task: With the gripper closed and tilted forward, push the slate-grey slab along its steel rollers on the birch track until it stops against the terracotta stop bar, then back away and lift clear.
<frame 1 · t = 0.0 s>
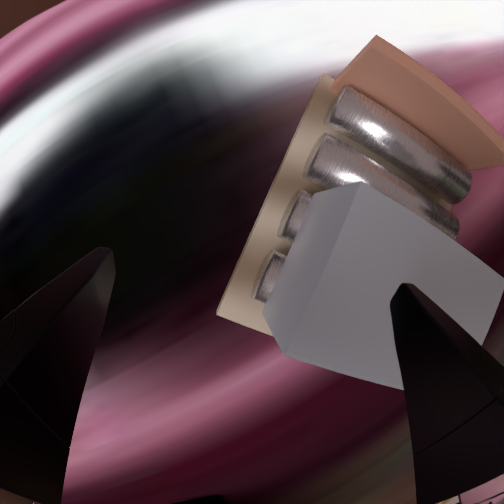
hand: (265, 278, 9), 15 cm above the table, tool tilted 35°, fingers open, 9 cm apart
rollers: (378, 223, 22), on the track board, point 3 cm above the table
track board: (358, 228, 25), on the table
stop bar: (426, 115, 19), on the track board, point 5 cm above the table
slab: (391, 299, 17), point 8 cm above the table, slide at 0.0 cm
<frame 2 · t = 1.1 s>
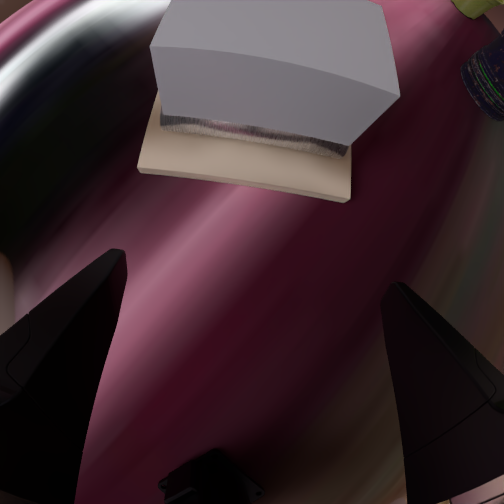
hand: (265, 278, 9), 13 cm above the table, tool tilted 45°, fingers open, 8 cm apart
rollers: (265, 52, 22), on the track board, point 3 cm above the table
track board: (259, 77, 24), on the table
slab: (274, 48, 16), point 8 cm above the table, slide at 0.0 cm
storage jar: (483, 91, 30), on the table
plant pot: (461, 8, 33), on the table
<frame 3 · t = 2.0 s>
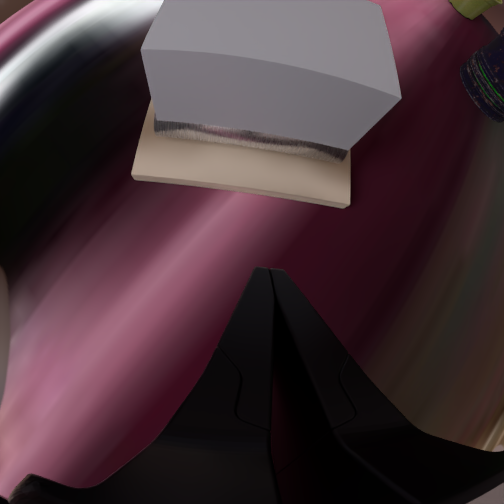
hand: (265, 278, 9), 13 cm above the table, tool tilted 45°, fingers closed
rollers: (262, 54, 21), on the track board, point 3 cm above the table
track board: (255, 80, 24), on the table
slab: (271, 50, 15), point 8 cm above the table, slide at 0.0 cm
storage jar: (483, 92, 30), on the table
plant pot: (459, 9, 34), on the table
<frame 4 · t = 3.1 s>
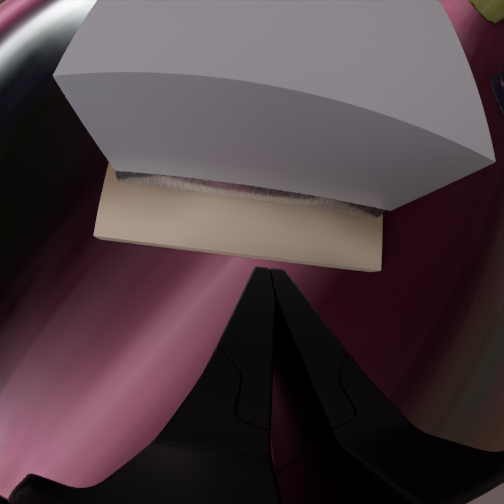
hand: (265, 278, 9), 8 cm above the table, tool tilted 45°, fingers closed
rollers: (268, 62, 16), on the track board, point 3 cm above the table
track board: (259, 96, 19), on the table
slab: (285, 60, 10), point 8 cm above the table, slide at 0.0 cm
plant pot: (481, 11, 28), on the table
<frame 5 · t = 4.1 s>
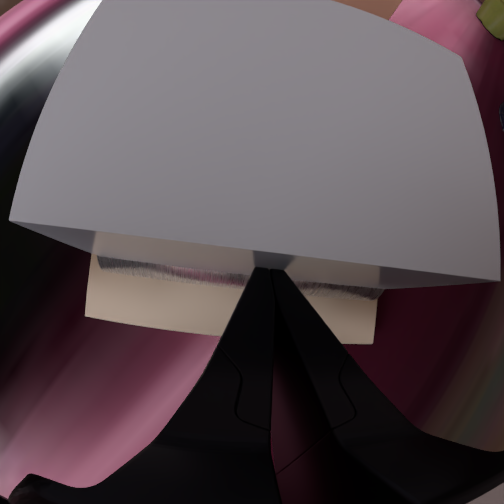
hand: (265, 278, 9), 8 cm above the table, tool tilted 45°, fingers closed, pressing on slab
rollers: (260, 122, 15), on the track board, point 3 cm above the table
track board: (251, 154, 18), on the table
slab: (278, 142, 9), point 8 cm above the table, slide at 0.7 cm, touching gripper
plant pot: (488, 27, 28), on the table
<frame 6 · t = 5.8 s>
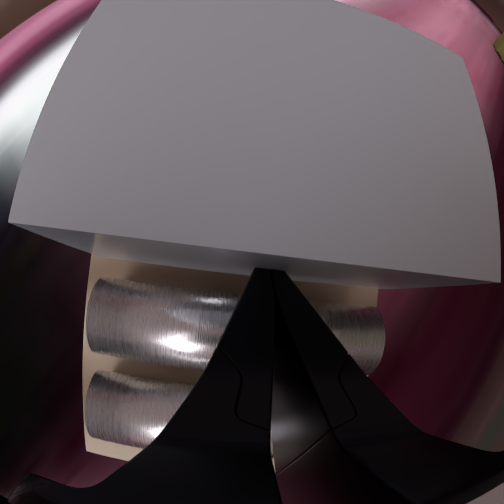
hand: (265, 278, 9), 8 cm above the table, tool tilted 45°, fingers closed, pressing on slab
rollers: (243, 284, 14), on the track board, point 3 cm above the table
track board: (236, 294, 17), on the table
slab: (278, 142, 9), point 8 cm above the table, slide at 9.1 cm, touching gripper
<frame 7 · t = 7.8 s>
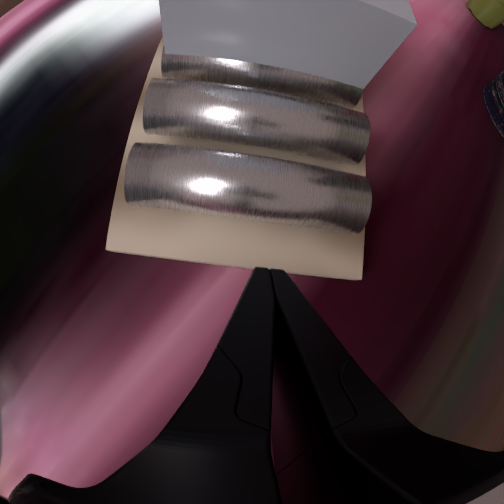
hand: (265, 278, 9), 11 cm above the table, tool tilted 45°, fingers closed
rollers: (261, 88, 18), on the track board, point 3 cm above the table
track board: (253, 117, 21), on the table
plant pot: (478, 16, 29), on the table
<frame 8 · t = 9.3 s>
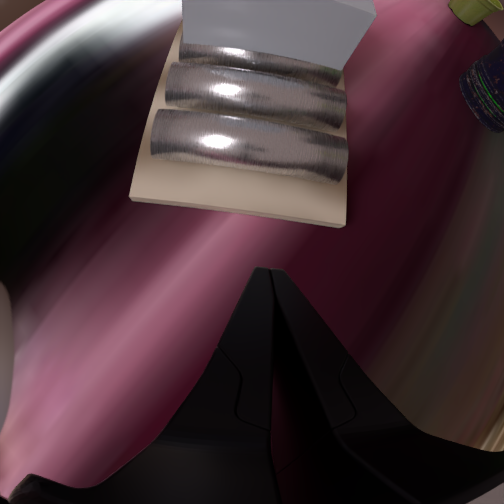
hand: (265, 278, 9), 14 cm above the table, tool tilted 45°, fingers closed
rollers: (259, 72, 22), on the track board, point 3 cm above the table
track board: (252, 97, 25), on the table
storage jar: (482, 102, 30), on the table
plant pot: (460, 15, 34), on the table
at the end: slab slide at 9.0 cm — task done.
